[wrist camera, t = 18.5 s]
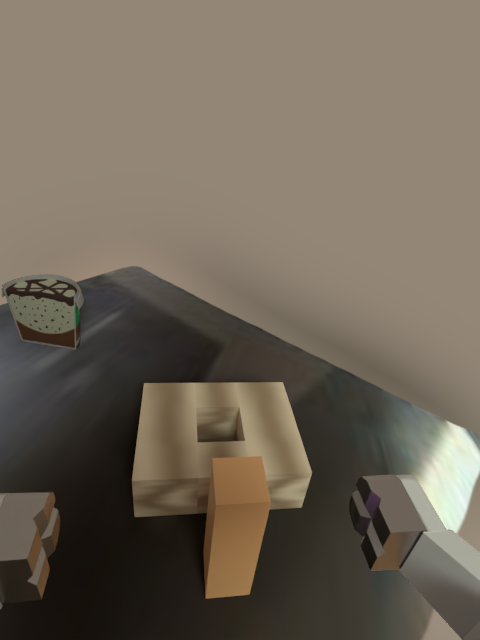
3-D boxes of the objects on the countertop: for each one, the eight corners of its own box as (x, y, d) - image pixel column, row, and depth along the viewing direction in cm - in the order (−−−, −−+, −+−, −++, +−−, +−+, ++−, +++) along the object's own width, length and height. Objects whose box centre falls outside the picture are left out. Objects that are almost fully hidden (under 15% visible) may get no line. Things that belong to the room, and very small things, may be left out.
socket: (134, 517, 40) (131, 480, 37) (145, 417, 52) (144, 383, 49) (301, 507, 43) (311, 472, 40) (276, 414, 55) (282, 382, 52)
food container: (101, 331, 68) (96, 279, 63) (85, 351, 63) (77, 297, 57) (34, 320, 69) (23, 268, 64) (12, 339, 64) (-2, 284, 58)
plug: (205, 598, 35) (215, 505, 27) (203, 552, 38) (212, 458, 31) (249, 594, 35) (271, 502, 28) (243, 549, 39) (261, 456, 31)
